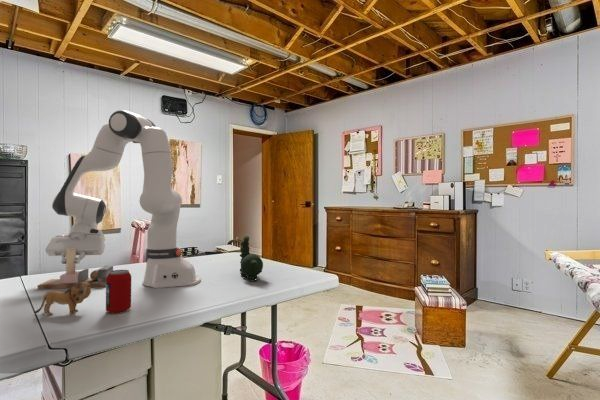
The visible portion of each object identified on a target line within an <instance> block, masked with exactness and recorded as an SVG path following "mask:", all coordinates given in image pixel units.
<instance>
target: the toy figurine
mask: <svg viewBox="0 0 600 400" xmlns="http://www.w3.org/2000/svg"><path fill="white" fill-rule="evenodd" d="M242 240H243V241H242V242H241V243H240V245H241V247H240V248H239V250H240V251H241V253H240V254H239V256H240V262H239V263H240V268H239V272H240V274H241V275H240V274H239V275H240V276H241V277H242V278H246V279H247V281H249V280H255V279H257V280H258V277H259V276H257V275H260V274H261V273H263V268H264V263H263V260H262V258H261V257H260V256H259V255H257V254H251V252H250V250H251V249H250V242H249V241H250V237H249V236H248V235H245V236H243V239H242ZM255 281H256V280H255Z"/></svg>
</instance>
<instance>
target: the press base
mask: <svg viewBox="0 0 600 400" xmlns="http://www.w3.org/2000/svg"><path fill="white" fill-rule="evenodd" d="M110 271H114V265H104V266H102V267H100V268H99V269H96V270H93V271H91V272H90V274H89V277H88V279H87V280H85V281H83V282H87V283H89V284H90V288H104V287H105V288H106V278H107V276H108V274H109V272H110ZM77 284H79V283H64V284H60V278H51V279H49V280H47V281H44V282H42V283H40V284H37V286H36V287H37V290H52V289H54V290H56V289H57V290H58V289H59V290H60V289H69V288H72V287H74V286H75V285H77Z"/></svg>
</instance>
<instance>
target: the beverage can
mask: <svg viewBox="0 0 600 400" xmlns="http://www.w3.org/2000/svg"><path fill="white" fill-rule="evenodd" d="M131 307H132V274H131V273H130V271H129V269H115V270H114V269H113V271H110V272H109V274H108V276H107V278H106V287H105V312H108V313H109V314H114V315H115V314H122V313H125V312H127V311H128V310H130V309H131Z"/></svg>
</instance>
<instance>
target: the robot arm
mask: <svg viewBox="0 0 600 400" xmlns="http://www.w3.org/2000/svg"><path fill="white" fill-rule="evenodd" d="M97 133H98V134H97V136H96V138H95V140H94V143H93V146H92V148H91V150H90V151H89V152H88V153H87V154H86V155H84V154H83V155H81V156H79V158H78V159H77V161H76V162H75V164H74V166H73V167H72V169H71V170H70V172H69V174H68V176H67V177H66V179H65V181H64V183H63V185H62V187H61V188H60V190H59V191H58V193H57V194H56V196H55V197H54V198H53V201H52V203H51V204H52V205H51V206H52V207H51V208H52V209H53V211H54V212H55V213H56V214H57V215H58V216H65V217H73V218H75V219H74V223H73V224H72V226H71V228H70V229H69V232H68V233H67V235H56V236H54V237H51V239H50V240H49V243H48V244H47V245H46V247H45V253H46V254H47V256H49V257H61V258H62V259H61V261H60V262H61V264H62V265H66V250H67V248H76V256H78V257H76V258H75V260H74V263H75V264H76V265H77V264H80V262H81V261H82V260H83V259H84V258H85V257H86V256H101V255H102V254H104V252H105V248H106V244H105V242H106V238H105V235H104V233H103V231H102V230H101V229H98V228H97V227H98V225H99V223H101V222H102V221H103V219H104V216H105V214H106V211H107V206H106V203H105V201H104V200H102V199H100V198H97V197H94V196H88V195H84V194H81V193H80V194H79V193H76V192H75V189H76V187H77V185H78V183H79V181H80V179H81V178H82V177H83V175H84V174H85V173H90V172H103V171H104V172H105V171H110V170H113V169H116V168H117V167H118V166H119V164H120V162H121V160H122V158H123V154H124V151H125V147H126V146H127V144H129V143H130V142H131V143H132V144H139V145H140V148H141V149H140V150H141V156H142V157H141V158H142V166H143V167H142V168H143V185H142V193H141V195H140V197H139V206H140V208H141V209H142V210H143V211H144V212H146V213H149V214H150V215H151V220H150V223H149V226H148V227H147V239H146V240H147V241H146V243H147V244H146V249H145V263H146V264H145V271H144V277H143V280H142V283H141V284H142V285H143V286H145V287H146V286H147V287H151V288H154V289H161V288H172V287H184V286H195V285H197V284H200V283H201V281H202V279H201V276H199V275H197V274H196V270H195V267H194V265H193V263H191V262H189V261H188V260H187V259H185V258H184V257H183V256H182V248H179V247H178V246H177V233H178V232H177V231H178V230H177V228H178V222H179V217H180V212H181V207H182V204H183V197H182V196H181V195H180V193H179V192H178V191H176V190H175V189H173V188H172V177H173V174H174V168H173V166H174V165H173V159H172V151H171V146H170V141H169V139H168V136H167V133H166V131H165V130H164V129H162V128H161V127H157V126H156V125H155V123H154V122H153V121H152V120H150V119H149V118H145V117H143V116H142V115H141V114H137V113H134V112H131V111H129V110H123V109H121V110H116V111H114V112H113V113H112V114H110V116H109V118H108V123H106V124H104V125H102V126H101V128H100V130H99V132H97Z"/></svg>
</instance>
